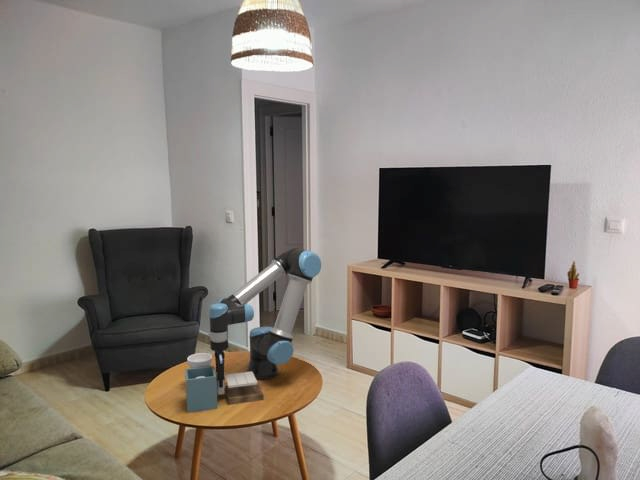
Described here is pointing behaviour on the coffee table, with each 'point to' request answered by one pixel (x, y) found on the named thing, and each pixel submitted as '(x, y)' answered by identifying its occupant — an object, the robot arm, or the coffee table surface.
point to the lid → (238, 379)
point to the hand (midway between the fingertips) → (220, 391)
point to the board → (244, 394)
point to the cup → (199, 360)
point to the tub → (201, 389)
